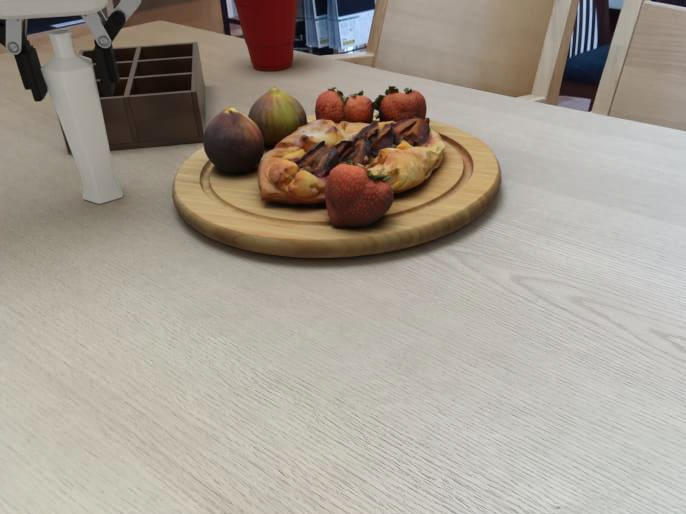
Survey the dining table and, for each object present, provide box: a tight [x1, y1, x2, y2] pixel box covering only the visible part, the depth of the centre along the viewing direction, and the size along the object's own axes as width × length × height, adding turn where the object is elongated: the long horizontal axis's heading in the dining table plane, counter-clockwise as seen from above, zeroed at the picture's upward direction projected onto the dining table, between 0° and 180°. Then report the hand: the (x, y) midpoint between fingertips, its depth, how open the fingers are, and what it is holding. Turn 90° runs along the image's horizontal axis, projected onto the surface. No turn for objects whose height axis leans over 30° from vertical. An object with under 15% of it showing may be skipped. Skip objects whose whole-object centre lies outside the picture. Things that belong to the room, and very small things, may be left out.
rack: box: [55, 41, 206, 155], centre depth 91 cm, size 15×22×6 cm
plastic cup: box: [233, 0, 299, 72], centre depth 106 cm, size 11×11×12 cm
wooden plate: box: [171, 85, 502, 259], centre depth 72 cm, size 32×32×8 cm
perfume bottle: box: [40, 28, 124, 205], centre depth 69 cm, size 5×4×15 cm
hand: (75, 92), depth 68 cm, fingers open, 5 cm apart
